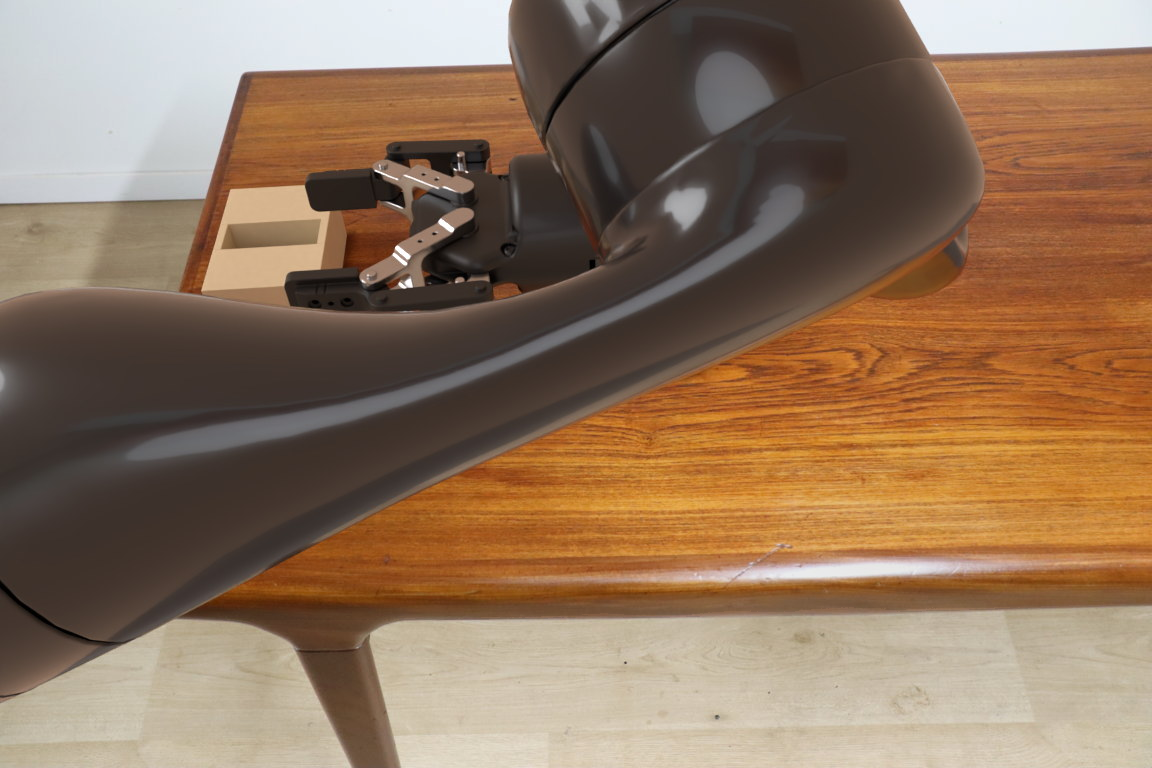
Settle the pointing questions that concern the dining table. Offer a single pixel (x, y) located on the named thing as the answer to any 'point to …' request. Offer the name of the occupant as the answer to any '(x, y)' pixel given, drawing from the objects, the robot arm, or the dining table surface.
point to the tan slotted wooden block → (271, 243)
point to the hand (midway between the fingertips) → (298, 240)
